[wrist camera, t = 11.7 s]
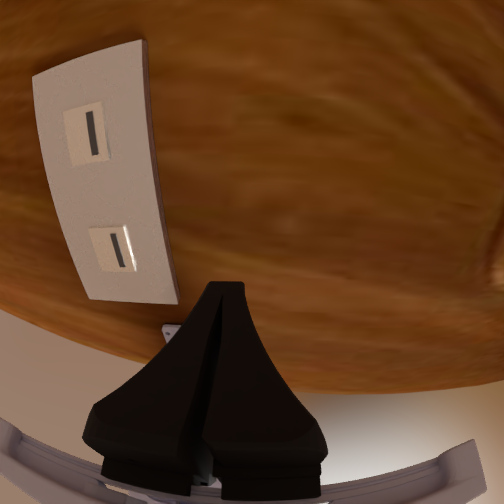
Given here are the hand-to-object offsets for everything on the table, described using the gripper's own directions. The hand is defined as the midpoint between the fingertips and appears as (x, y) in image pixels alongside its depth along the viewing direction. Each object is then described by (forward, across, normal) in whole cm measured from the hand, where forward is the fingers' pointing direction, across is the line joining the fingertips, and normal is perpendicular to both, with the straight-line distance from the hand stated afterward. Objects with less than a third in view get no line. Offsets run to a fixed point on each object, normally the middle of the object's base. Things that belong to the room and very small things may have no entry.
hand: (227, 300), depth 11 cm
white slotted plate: (+9, +10, -2) cm, 14 cm away
